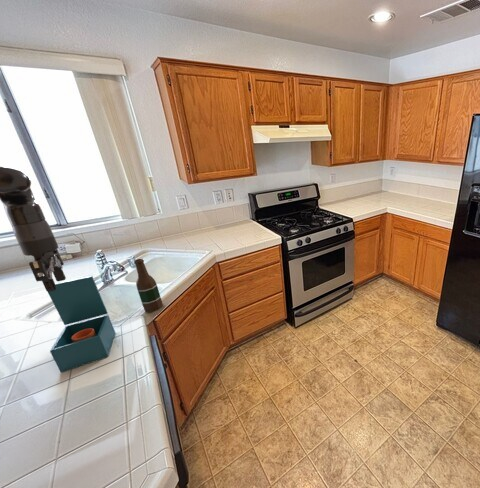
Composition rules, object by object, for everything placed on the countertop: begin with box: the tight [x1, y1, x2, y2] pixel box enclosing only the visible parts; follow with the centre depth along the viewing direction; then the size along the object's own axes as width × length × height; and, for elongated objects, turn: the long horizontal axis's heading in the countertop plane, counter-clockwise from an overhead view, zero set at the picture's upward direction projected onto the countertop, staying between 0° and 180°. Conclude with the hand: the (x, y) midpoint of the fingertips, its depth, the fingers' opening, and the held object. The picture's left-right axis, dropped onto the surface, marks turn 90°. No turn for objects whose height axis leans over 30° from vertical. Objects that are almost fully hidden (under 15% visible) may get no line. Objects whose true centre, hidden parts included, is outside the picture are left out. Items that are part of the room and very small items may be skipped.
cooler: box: [49, 314, 116, 373], centre depth 94 cm, size 16×13×9 cm
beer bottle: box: [133, 258, 163, 313], centre depth 117 cm, size 8×8×24 cm
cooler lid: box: [47, 275, 109, 326], centre depth 97 cm, size 16×13×5 cm
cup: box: [71, 328, 96, 343], centre depth 93 cm, size 6×6×7 cm
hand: (57, 285), depth 83 cm, fingers open, 8 cm apart
